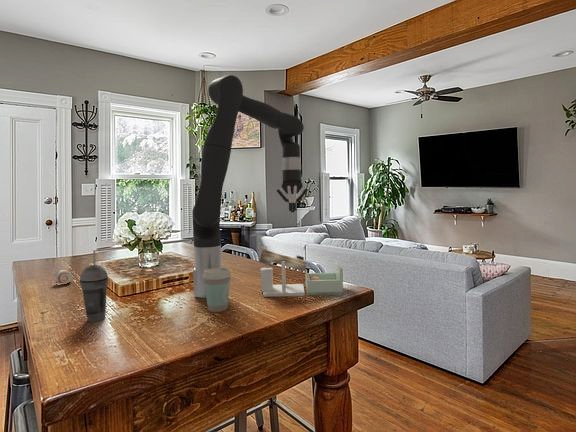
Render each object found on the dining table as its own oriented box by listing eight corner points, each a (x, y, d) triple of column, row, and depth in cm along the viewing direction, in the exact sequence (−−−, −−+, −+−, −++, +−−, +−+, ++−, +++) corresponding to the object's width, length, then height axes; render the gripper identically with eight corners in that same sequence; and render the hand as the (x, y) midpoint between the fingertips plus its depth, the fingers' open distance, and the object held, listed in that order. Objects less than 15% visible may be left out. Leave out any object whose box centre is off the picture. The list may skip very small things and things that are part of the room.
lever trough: (258, 262, 125) (263, 248, 124) (261, 256, 138) (265, 243, 138) (303, 276, 125) (307, 262, 125) (301, 268, 138) (305, 255, 138)
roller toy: (53, 285, 147) (52, 270, 147) (71, 282, 152) (70, 268, 151) (55, 286, 144) (55, 272, 144) (74, 283, 148) (73, 269, 148)
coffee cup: (226, 314, 106) (224, 273, 105) (198, 312, 107) (197, 272, 107) (236, 305, 114) (234, 267, 113) (210, 304, 116) (209, 266, 115)
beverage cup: (103, 313, 109) (100, 247, 108) (115, 318, 105) (111, 249, 103) (77, 320, 104) (73, 250, 102) (88, 325, 99) (84, 252, 98)
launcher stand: (260, 296, 123) (259, 263, 122) (262, 287, 135) (261, 256, 134) (304, 295, 123) (303, 262, 122) (303, 286, 135) (302, 255, 134)
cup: (307, 295, 123) (307, 269, 122) (305, 286, 135) (305, 262, 134) (343, 294, 123) (342, 268, 122) (338, 285, 135) (337, 261, 134)
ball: (321, 277, 126) (321, 289, 127) (320, 275, 130) (320, 286, 131) (309, 278, 126) (310, 289, 127) (309, 275, 130) (309, 286, 131)
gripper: (274, 169, 142) (276, 213, 143) (308, 168, 142) (309, 212, 143) (275, 170, 150) (276, 212, 151) (307, 169, 150) (308, 211, 151)
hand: (292, 212), depth 147 cm, fingers closed
